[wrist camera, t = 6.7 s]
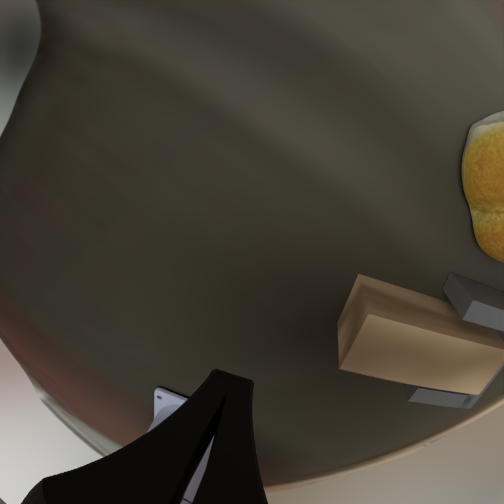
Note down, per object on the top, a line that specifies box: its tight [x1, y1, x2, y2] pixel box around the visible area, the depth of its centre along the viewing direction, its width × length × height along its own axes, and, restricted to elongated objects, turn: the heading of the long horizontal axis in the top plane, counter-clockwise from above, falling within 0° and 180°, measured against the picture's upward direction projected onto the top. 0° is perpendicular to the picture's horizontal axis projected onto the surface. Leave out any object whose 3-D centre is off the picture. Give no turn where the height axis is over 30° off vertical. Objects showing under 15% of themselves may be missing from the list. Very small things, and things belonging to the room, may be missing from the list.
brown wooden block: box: [337, 274, 504, 395], centre depth 15 cm, size 4×10×4 cm, turn 76°
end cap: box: [404, 272, 504, 409], centre depth 15 cm, size 7×6×4 cm
